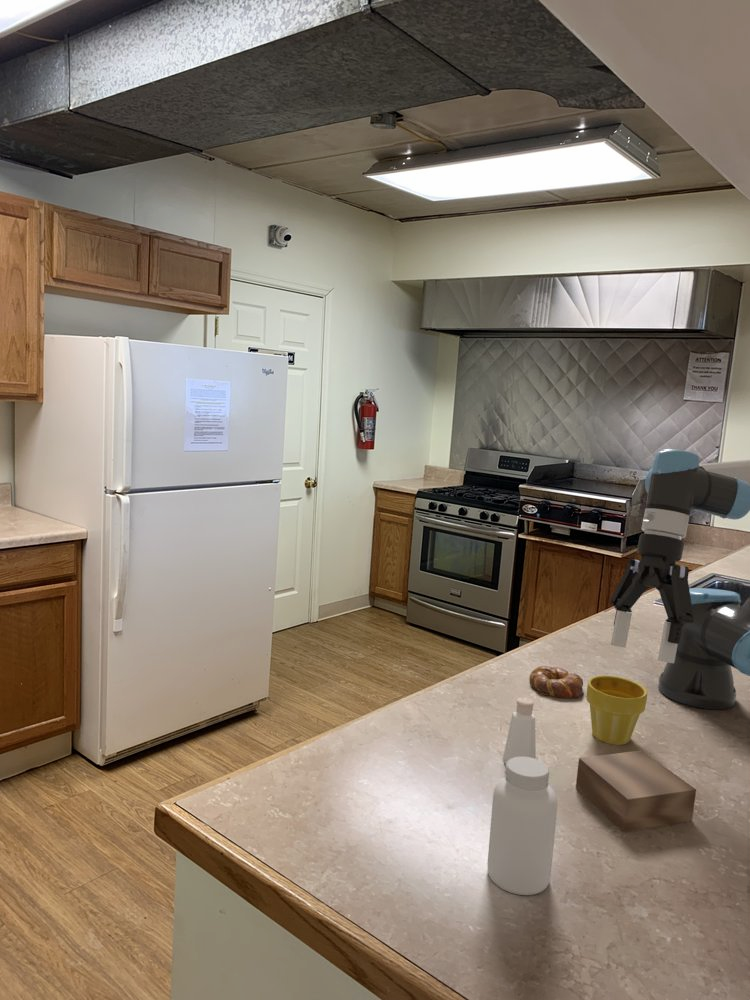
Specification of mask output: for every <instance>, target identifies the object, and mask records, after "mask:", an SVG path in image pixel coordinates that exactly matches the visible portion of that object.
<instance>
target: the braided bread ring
mask: <svg viewBox="0 0 750 1000" xmlns="http://www.w3.org/2000/svg"><path fill="white" fill-rule="evenodd" d="M529 682H530V685H531V687H532V689H534V690H537V691H538V692H539V693H540V694H543V695H545V696H551V697H554V698H559V699H560V698H561V699H565V698H566V699H567V698H571V697H574V698H577V697H579V696H581V695H582V694H583V692H584V690H583V687H584V681H583V678H582V677H581V676H580V675H578V674H577V673H573V672H570V673H569V671H568V670H566V669H564V668H563V667H559V666H556V667H555V666H554V667H553V666H548V665H540V666H538V667H535V668H534V669H533V670H531V673H530V675H529Z"/></svg>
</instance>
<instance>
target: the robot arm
mask: <svg viewBox="0 0 750 1000" xmlns="http://www.w3.org/2000/svg"><path fill="white" fill-rule="evenodd" d="M644 488H645V491H646V493H647V496H646V501H645V508H644V515H643V518H642V523H641V528H640V529H641V530H642V532H644V533H641V534H639V539H638V543H637V549H636V552H637V554H638V555H641V557H640V560H639V559H633V558H629V559H628V561H627V564H626V569H625V571H624V572H623V574H622V577H621V579H620V581H619V583H618V584H617V586H616V588H615V590H614V592H613V594H612V596H611V598H610V600H609V604H610V605H611V606H613V607H614V609H615V614H614V621H613V631H612V634H611V635H612V636H611V642H610V645H611V646H612V647H613V646H614V647H620V648H625V649H626V647H627V641H628V637H629V630H630V625H631V619H632V614H633V610H632V608H633V606H634V605H635V604H637V601H639V599H640V598H641V596H643V594H644V593H645V592H646V590H648V589H650V588H655V589H656V590H657V591H658V592H659V595H660V598H661V601H662V604H663V606H664V610H665V613H666V616H667V618H666V619H665V621H664V624H663V631H662V635H661V639H660V647H659V651H658V657H657V660H658V661H660V662H664V663H666V664H665V667H664V668H663V669H664V670H663V672H661V673H660V675H659V678H658V679H659V680H658V687H657V688H658V690H659V691H660V693H661V694H662V695H663V696H665V697H667V698H669V699H671V700H672V701H675V702H677V703H680V704H683V705H687V706H690V707H694V708H699V709H706V710H726V709H730V708H732V707H734V706H735V704H736V699H737V690H736V688H735V685H734V684H735V683H734V677H733V675H734V674H733V671H732V668H734V669H736V670H737V671H739V672H740V673H741V674H743V675H745V676H748V677H750V596H749V597H748V598H747V599H746V600H745V602H744V603H742V600H741V595H740V594H739V593H738V592H735V591H731V590H727V589H726V590H724V589H720V588H719V589H717V588H708V587H707V588H705V587H690V586H689V571H690V569H689V567H688V566H685V565H680V564H676V562H680V561H681V560H682V557H683V551H684V546H685V542H684V541H683V540H682V539H685V538H686V537H687V531H688V526H689V520H690V514H691V510H693V511H696V512H700V513H704V514H708V515H712V516H715V517H719V518H722V519H723V520H724V519H729V520H740V519H742V518H744V517H745V516H746V515H747V514H748V513H750V459H745V460H744V459H743V460H732V461H722V462H721V461H720V462H711V463H710V462H709V463H700V457H699V455H698V454H696V453H694V452H692V451H687V450H682V449H674V448H673V449H672V448H666V449H662V450H659V451H658V452H657V453H656V454H655V457H654V460H653V463H652V467H651V468H650V469H649V471H648V472H647V474H646V476H645V480H644ZM741 603H742V605H740V604H741Z"/></svg>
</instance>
